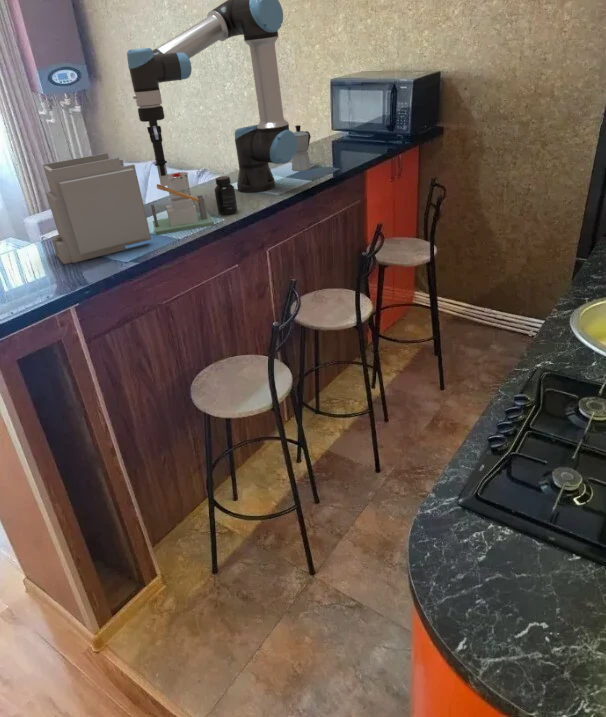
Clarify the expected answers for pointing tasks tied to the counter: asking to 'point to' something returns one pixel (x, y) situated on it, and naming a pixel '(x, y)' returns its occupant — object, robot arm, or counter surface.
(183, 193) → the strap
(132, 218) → the grey layered block
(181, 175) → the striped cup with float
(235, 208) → the supplement bottle
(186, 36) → the robot arm
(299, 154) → the coffee maker
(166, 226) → the board
